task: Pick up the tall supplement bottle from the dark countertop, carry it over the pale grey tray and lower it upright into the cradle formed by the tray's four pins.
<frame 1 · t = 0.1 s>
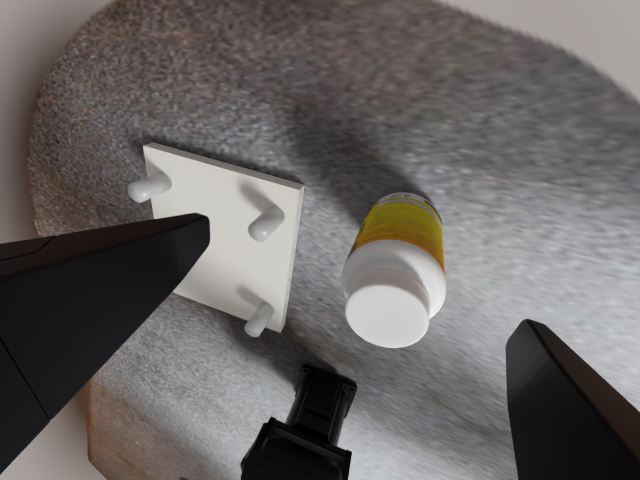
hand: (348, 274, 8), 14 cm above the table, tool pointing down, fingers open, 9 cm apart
supplement bottle: (402, 223, 23), on the table
pin tray: (226, 243, 29), on the table
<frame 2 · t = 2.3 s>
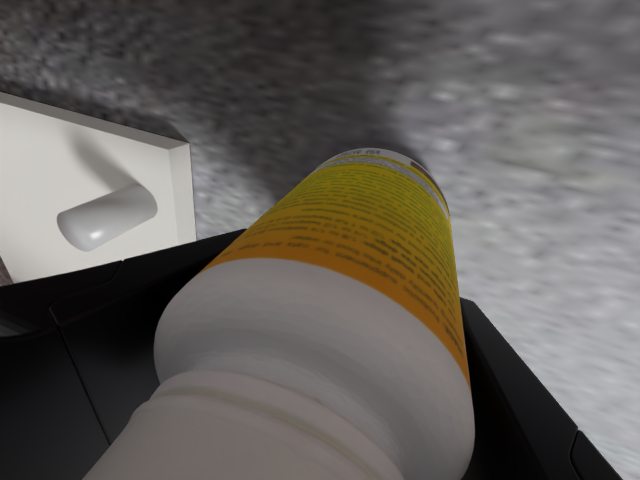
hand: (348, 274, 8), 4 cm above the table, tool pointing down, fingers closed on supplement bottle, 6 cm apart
supplement bottle: (371, 216, 12), on the table, touching gripper
pin tray: (97, 250, 18), on the table
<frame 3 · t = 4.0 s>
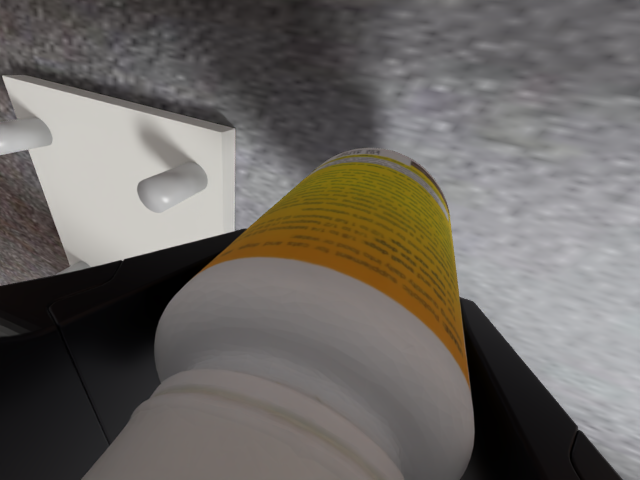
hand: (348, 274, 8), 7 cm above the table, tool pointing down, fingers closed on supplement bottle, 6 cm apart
supplement bottle: (371, 216, 12), point 3 cm above the table, touching gripper
pin tray: (144, 224, 21), on the table
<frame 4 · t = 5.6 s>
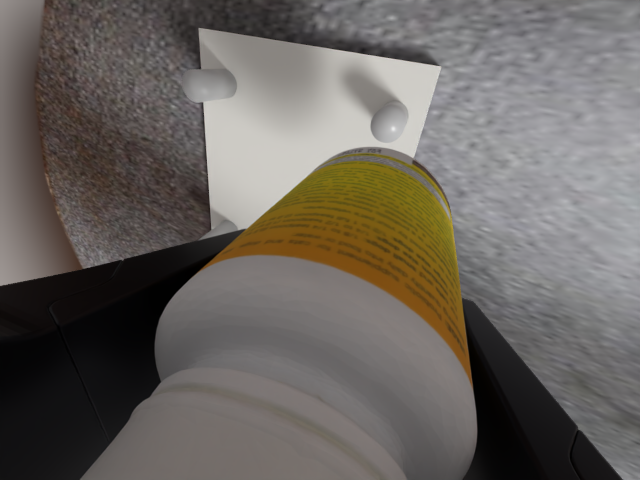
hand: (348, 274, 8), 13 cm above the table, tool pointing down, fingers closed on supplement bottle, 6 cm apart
supplement bottle: (372, 215, 12), point 9 cm above the table, touching gripper
pin tray: (302, 178, 22), on the table
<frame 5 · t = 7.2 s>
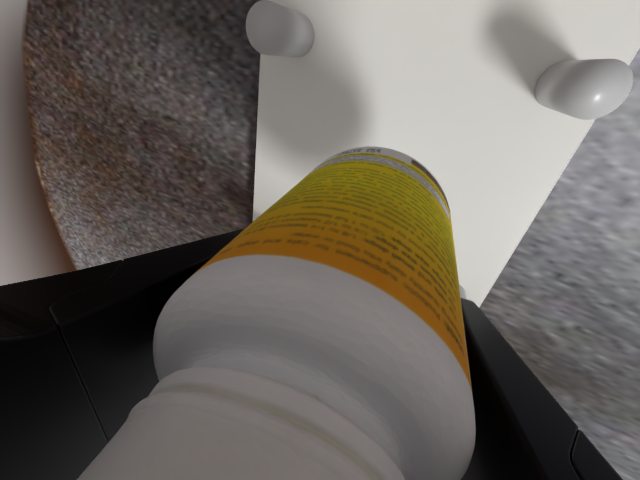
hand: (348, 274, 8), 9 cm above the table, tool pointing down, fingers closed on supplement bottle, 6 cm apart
supplement bottle: (372, 215, 12), point 5 cm above the table, touching gripper
pin tray: (386, 174, 16), on the table
when the fingers open (6 cm above the table, at t = 8.9 s): supplement bottle stays where it is, resting on pin tray.
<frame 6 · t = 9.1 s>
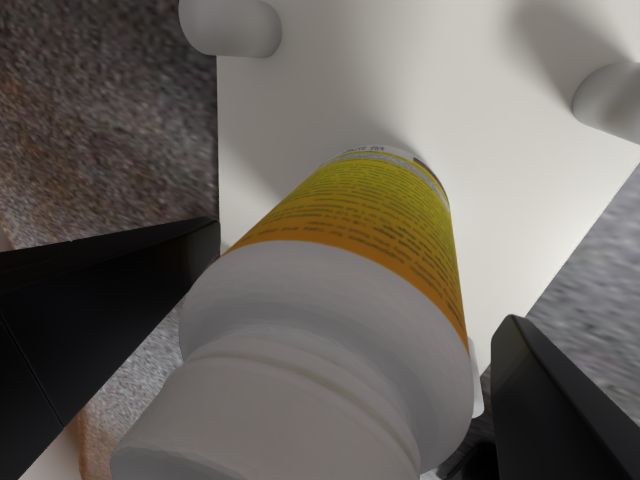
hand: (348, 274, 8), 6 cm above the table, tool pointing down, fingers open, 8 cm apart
supplement bottle: (374, 210, 12), point 1 cm above the table, touching pin tray
pin tray: (377, 201, 13), on the table
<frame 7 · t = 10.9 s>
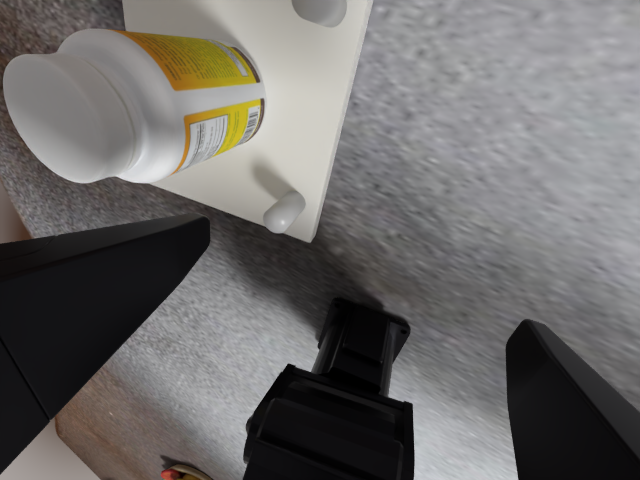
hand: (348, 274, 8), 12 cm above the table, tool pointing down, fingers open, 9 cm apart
supplement bottle: (230, 96, 18), point 1 cm above the table, touching pin tray
pin tray: (238, 94, 19), on the table
toy food set: (199, 478, 59), on the table
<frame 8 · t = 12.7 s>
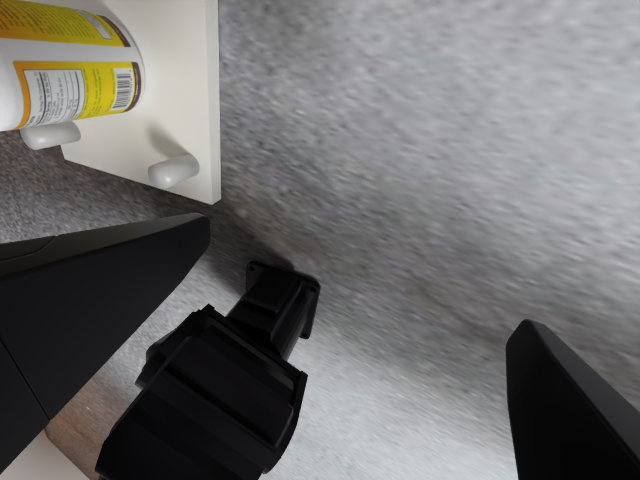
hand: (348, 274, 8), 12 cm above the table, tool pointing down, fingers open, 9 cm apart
supplement bottle: (117, 66, 20), point 1 cm above the table, touching pin tray
pin tray: (129, 66, 21), on the table
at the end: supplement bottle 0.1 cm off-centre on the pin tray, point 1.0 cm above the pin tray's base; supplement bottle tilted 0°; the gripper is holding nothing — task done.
